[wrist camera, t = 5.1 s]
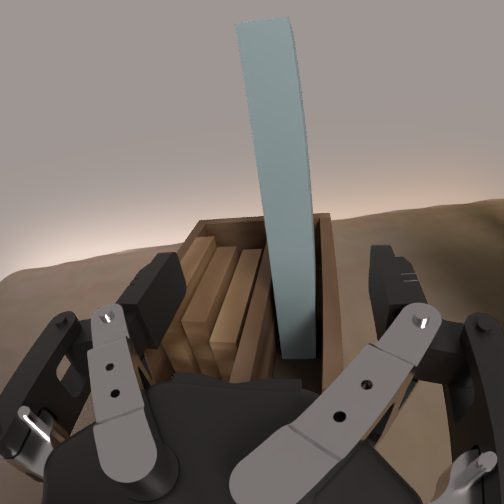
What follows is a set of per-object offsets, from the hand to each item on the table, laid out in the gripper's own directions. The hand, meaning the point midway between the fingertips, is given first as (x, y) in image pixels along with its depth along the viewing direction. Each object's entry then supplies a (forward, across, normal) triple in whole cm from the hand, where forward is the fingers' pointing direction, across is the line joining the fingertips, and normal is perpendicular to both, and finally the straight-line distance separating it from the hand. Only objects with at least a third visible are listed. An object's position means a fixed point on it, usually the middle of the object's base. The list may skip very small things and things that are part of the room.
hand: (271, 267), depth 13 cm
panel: (+11, 0, +15) cm, 18 cm away
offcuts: (+11, +7, +15) cm, 20 cm away
